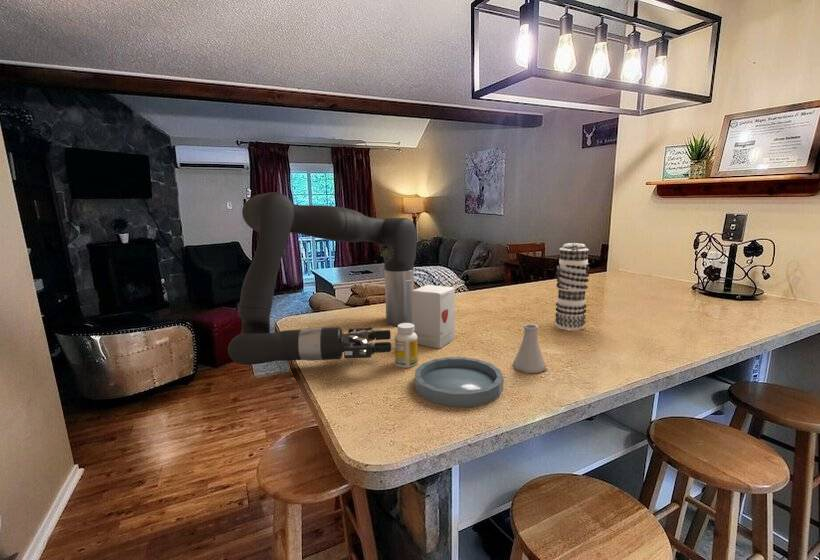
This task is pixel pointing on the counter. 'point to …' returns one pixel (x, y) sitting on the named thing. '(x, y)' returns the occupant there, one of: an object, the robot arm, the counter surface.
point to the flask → (529, 352)
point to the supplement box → (433, 315)
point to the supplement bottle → (406, 346)
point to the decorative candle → (572, 286)
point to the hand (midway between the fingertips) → (390, 340)
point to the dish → (458, 381)
